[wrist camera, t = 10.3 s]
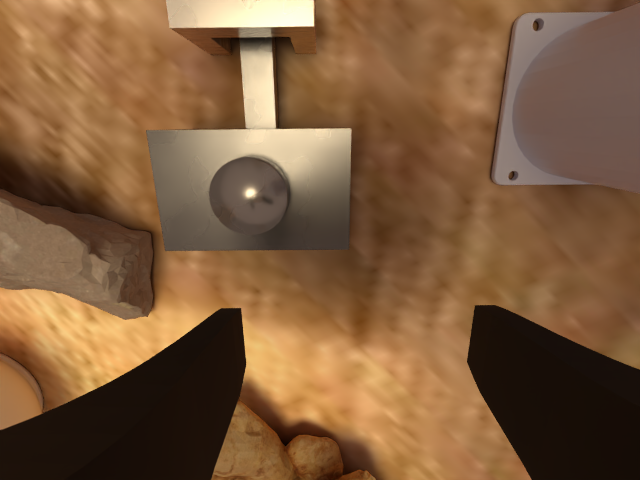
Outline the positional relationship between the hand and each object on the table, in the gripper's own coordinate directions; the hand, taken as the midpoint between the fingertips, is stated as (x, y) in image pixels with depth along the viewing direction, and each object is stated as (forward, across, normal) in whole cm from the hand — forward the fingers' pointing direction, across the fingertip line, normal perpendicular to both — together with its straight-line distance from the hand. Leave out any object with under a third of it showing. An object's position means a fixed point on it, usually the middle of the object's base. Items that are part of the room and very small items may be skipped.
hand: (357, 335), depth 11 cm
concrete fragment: (+10, +16, -1) cm, 20 cm away
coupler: (+10, +4, -8) cm, 13 cm away
